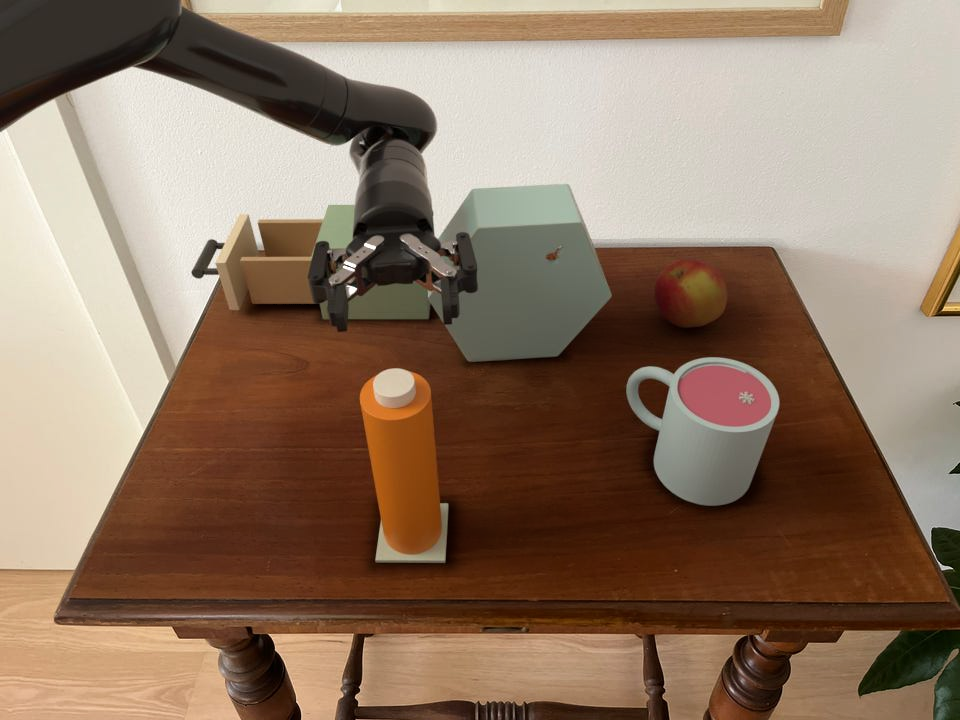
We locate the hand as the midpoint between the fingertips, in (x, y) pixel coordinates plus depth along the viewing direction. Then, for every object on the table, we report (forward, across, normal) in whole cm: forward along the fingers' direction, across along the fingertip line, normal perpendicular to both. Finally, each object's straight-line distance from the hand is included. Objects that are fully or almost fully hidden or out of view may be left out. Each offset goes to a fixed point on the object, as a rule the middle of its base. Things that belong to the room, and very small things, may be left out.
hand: (394, 320), depth 58 cm
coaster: (+8, 0, +18) cm, 20 cm away
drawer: (-30, -17, +17) cm, 39 cm away
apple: (-19, +33, +19) cm, 42 cm away
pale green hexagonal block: (-18, +12, +19) cm, 29 cm away
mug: (+1, +26, +18) cm, 32 cm away
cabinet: (-29, -3, +18) cm, 35 cm away
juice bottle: (+8, 0, +18) cm, 19 cm away
